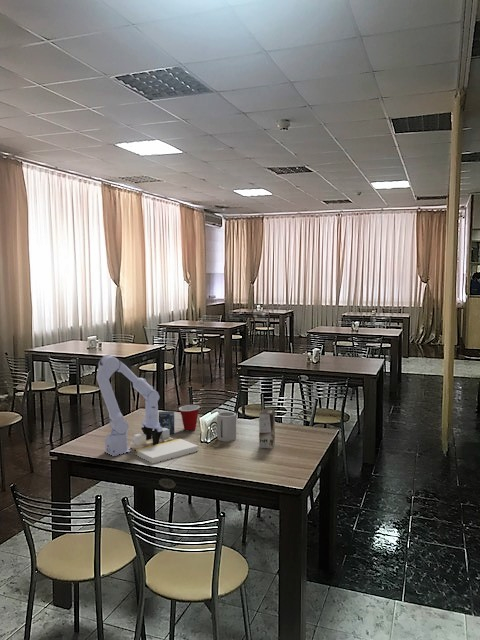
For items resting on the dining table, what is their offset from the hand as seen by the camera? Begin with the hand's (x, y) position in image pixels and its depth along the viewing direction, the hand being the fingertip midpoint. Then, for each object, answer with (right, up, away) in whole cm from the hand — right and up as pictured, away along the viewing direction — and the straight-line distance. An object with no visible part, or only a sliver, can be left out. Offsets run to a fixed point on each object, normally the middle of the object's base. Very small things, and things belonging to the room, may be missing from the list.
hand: (152, 443), depth 244 cm
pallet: (0, -2, 0) cm, 2 cm away
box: (+4, 0, +21) cm, 22 cm away
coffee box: (+54, -1, +2) cm, 54 cm away
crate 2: (+5, +2, +4) cm, 7 cm away
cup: (+34, -1, +13) cm, 37 cm away
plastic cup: (+15, +1, +27) cm, 31 cm away
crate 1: (-5, +1, -4) cm, 7 cm away
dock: (+8, -2, -9) cm, 13 cm away
